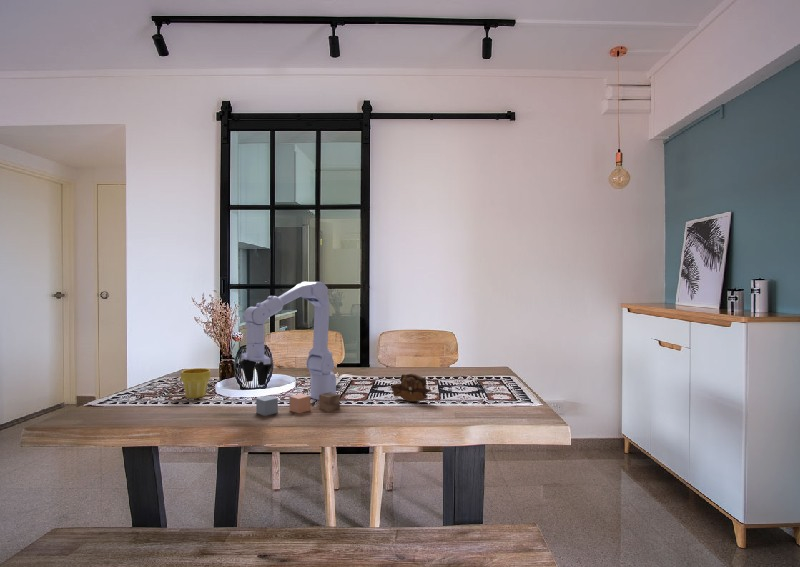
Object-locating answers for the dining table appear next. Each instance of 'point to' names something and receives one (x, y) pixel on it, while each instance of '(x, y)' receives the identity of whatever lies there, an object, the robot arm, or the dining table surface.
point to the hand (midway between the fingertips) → (255, 383)
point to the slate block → (266, 405)
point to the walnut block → (329, 401)
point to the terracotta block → (299, 403)
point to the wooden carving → (411, 388)
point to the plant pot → (195, 382)
